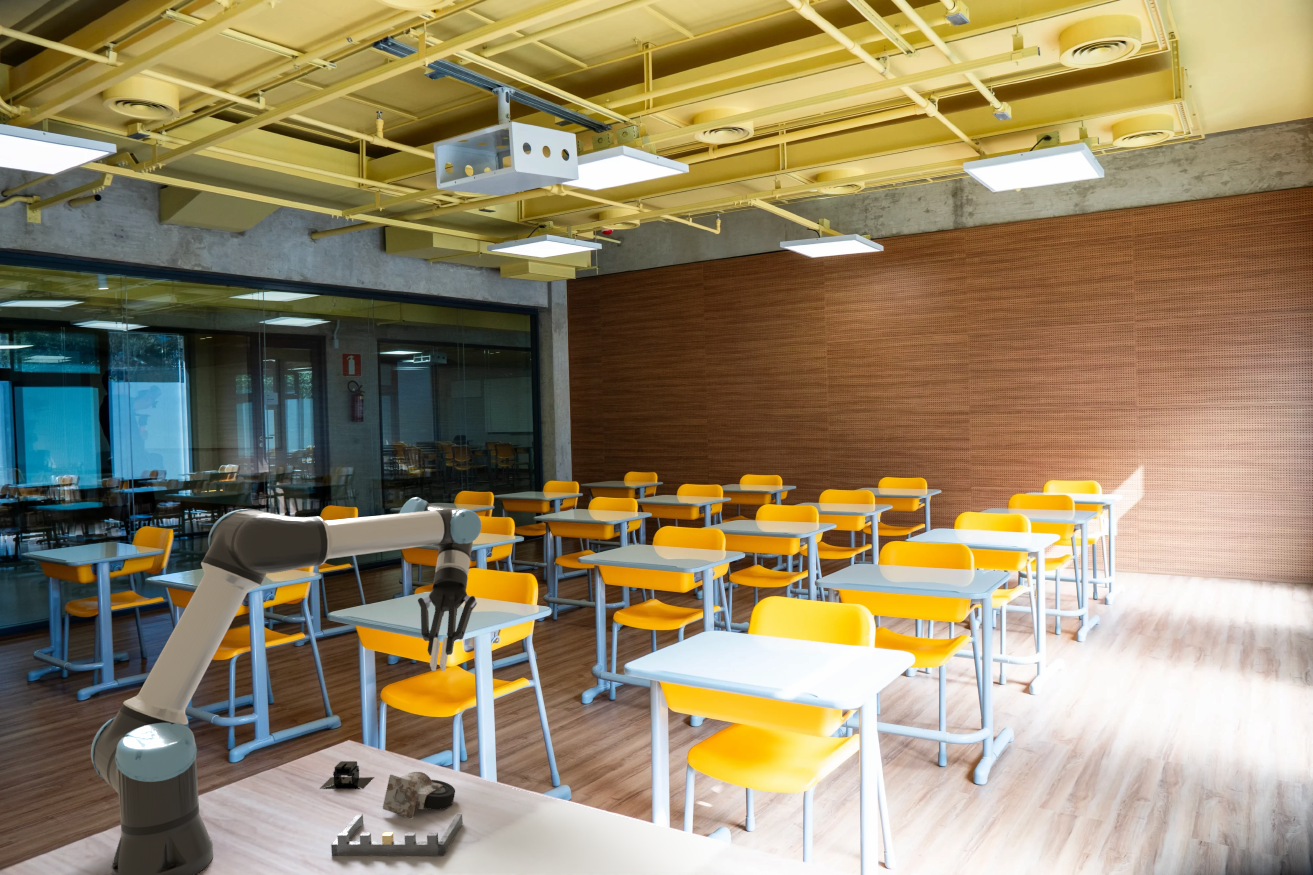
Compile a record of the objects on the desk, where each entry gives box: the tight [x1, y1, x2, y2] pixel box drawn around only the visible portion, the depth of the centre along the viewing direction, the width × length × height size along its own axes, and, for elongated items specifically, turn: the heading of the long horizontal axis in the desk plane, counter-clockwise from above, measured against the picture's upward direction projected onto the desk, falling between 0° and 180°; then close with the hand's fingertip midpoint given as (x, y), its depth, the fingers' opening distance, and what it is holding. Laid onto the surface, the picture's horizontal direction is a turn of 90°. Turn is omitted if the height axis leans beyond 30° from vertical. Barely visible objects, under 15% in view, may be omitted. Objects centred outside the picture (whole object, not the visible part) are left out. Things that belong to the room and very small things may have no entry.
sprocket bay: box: [330, 813, 464, 857], centre depth 153 cm, size 20×11×4 cm, turn 86°
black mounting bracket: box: [319, 760, 375, 790], centre depth 177 cm, size 12×7×5 cm, turn 85°
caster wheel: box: [382, 771, 456, 819], centre depth 165 cm, size 7×11×10 cm
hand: (437, 667), depth 181 cm, fingers closed
